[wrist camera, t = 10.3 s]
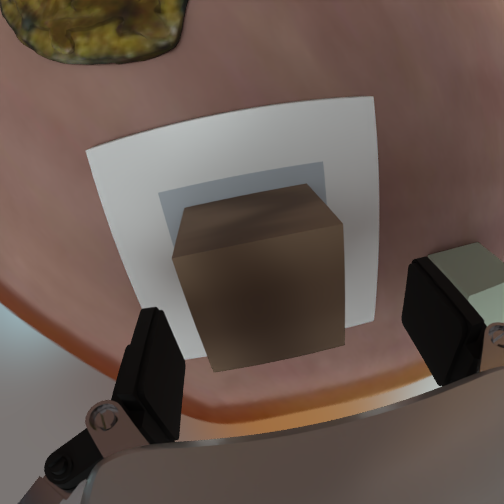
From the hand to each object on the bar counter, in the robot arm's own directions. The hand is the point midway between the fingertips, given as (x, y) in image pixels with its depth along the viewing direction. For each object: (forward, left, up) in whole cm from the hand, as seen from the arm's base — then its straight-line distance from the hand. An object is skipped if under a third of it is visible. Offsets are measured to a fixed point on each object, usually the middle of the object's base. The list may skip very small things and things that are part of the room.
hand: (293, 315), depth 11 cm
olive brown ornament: (+7, -17, -7) cm, 20 cm away
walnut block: (+1, 0, -6) cm, 6 cm away
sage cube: (-13, +6, -7) cm, 16 cm away
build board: (+1, 0, -7) cm, 7 cm away
